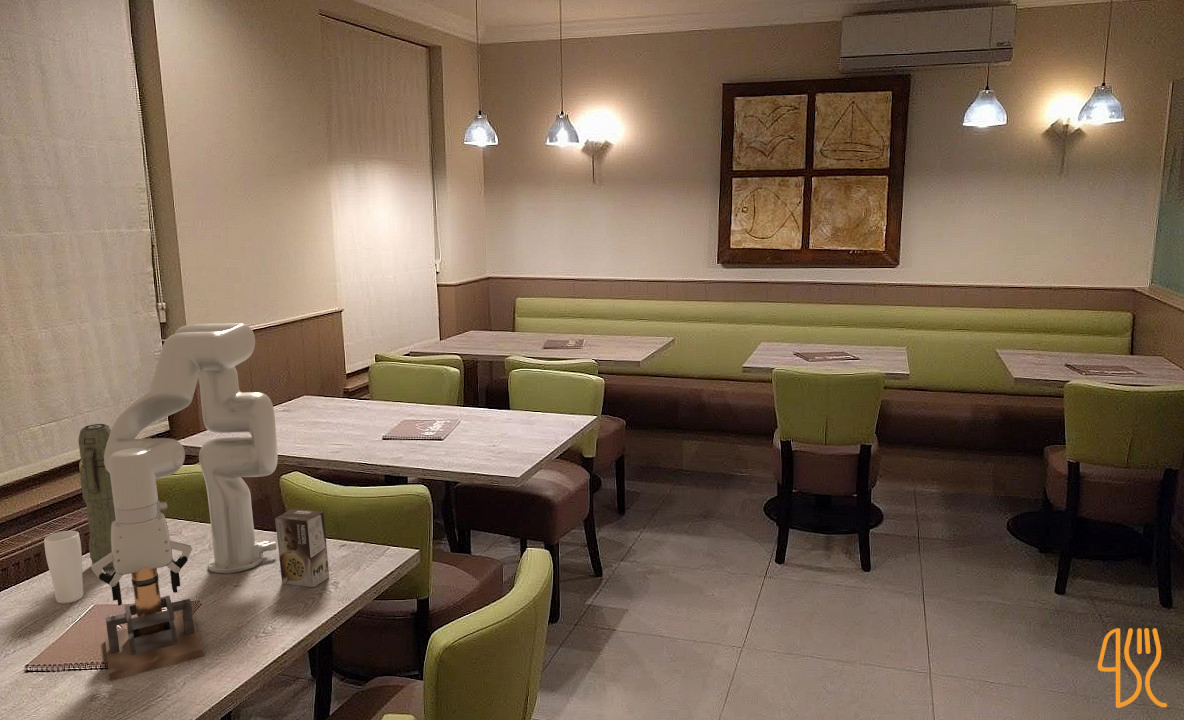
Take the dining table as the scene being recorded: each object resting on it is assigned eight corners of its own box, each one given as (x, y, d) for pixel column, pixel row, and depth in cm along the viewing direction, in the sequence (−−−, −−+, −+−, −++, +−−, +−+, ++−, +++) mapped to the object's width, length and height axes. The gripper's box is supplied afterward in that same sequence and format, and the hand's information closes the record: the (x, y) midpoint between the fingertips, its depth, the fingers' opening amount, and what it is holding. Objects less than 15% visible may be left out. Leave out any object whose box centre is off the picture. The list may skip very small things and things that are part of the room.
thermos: (84, 575, 205) (66, 433, 200) (99, 556, 217) (82, 422, 211) (125, 570, 208) (108, 430, 202) (137, 552, 219) (121, 419, 213)
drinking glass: (71, 607, 188) (62, 542, 186) (45, 605, 190) (36, 540, 187) (94, 593, 195) (86, 531, 192) (69, 591, 196) (60, 529, 194)
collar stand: (192, 619, 181) (187, 582, 179) (203, 655, 166) (199, 614, 164) (105, 640, 173) (100, 601, 171) (109, 680, 157) (103, 637, 156)
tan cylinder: (164, 633, 172) (155, 557, 169) (167, 642, 168) (157, 565, 165) (139, 639, 170) (129, 563, 167) (140, 649, 166) (130, 571, 163)
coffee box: (330, 576, 201) (325, 511, 198) (313, 588, 195) (307, 520, 192) (298, 572, 204) (292, 507, 201) (280, 583, 198) (274, 517, 195)
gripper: (184, 498, 172) (193, 579, 175) (85, 516, 163) (96, 600, 166) (189, 509, 166) (198, 592, 169) (85, 528, 157) (97, 615, 160)
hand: (147, 596), depth 167 cm, fingers open, 9 cm apart
